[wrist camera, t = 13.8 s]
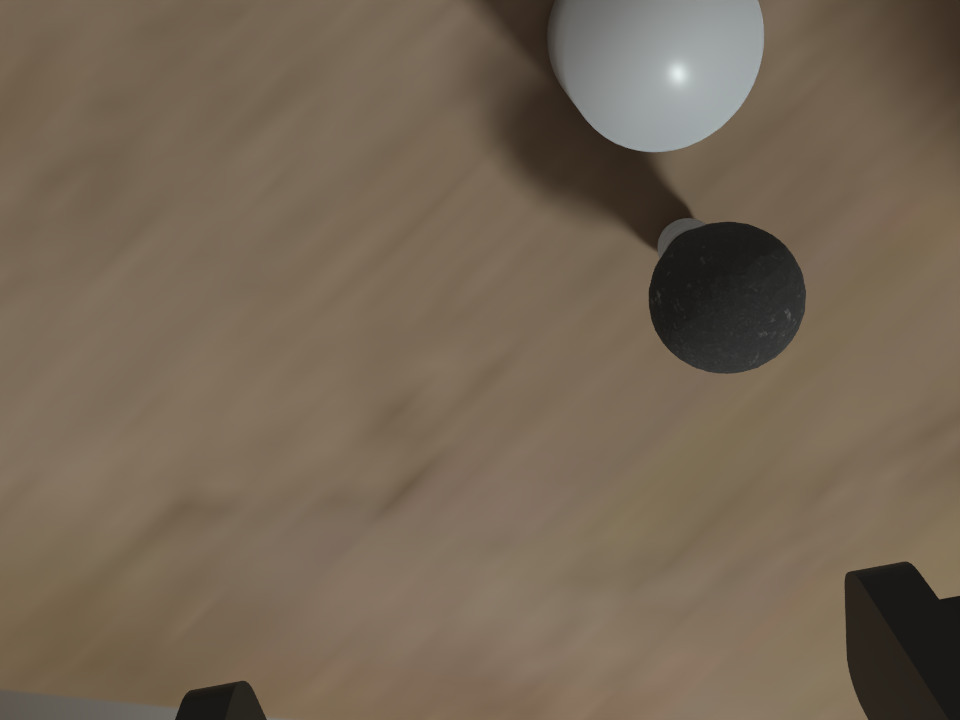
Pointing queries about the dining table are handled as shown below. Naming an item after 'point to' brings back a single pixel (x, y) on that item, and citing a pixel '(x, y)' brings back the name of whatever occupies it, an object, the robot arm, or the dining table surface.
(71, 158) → the dining table surface
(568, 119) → the dining table surface
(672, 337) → the light bulb
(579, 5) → the cylinder
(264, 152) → the dining table surface
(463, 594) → the dining table surface
